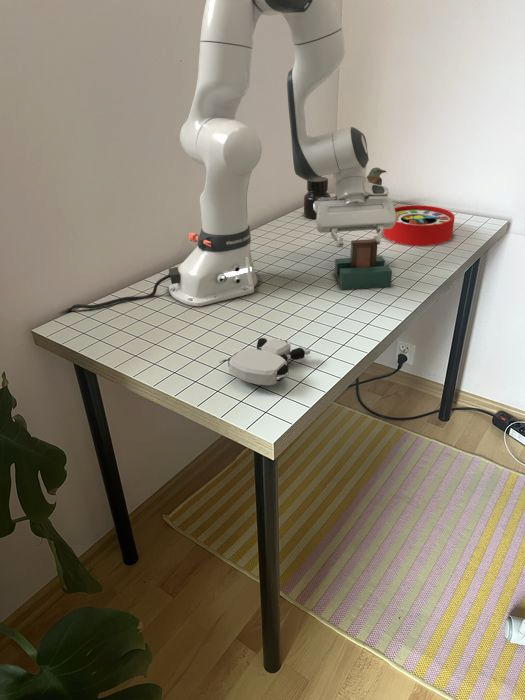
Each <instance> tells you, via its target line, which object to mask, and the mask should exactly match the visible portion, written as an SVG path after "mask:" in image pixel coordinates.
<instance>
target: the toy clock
mask: <svg viewBox="0 0 525 700" xmlns="http://www.w3.org/2000/svg"><path fill="white" fill-rule="evenodd" d="M394 208H395V213H396V223H395V225H394V226H393V227H392V228H391V229H383V231H382V235H383V237H384V238H385V239H387V240H388V241H390V242H393V243H395V244H399V245H400V244H401V245H405V246H412V247H413V246H414V247H415V246H416V247H428V246H429V247H430V246H438V245H442V244H445V243H447V242H449V241H450V240H451V239H452V238H453V232H454V227H455V226H454V225H455V214H454V213H453V212H451V211H450V210H448V209H445V208H441V207H437V206H431V205H418V204H415V205H412V204H411V205H401V206H396V207H394Z"/></svg>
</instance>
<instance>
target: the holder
mask: <svg viewBox="0 0 525 700" xmlns="http://www.w3.org/2000/svg"><path fill="white" fill-rule="evenodd" d="M392 274H393V270H392V268H391V267H390V265H386V260H385V258H384V257H383V256H382V255H377V258H376V267H360V268H350V257H344V258H342V257H340V258H335V259H334V275H335V278H336V281H337V282H338V285H339V287H340V289H341V290H343V291H344V290H357V289H374V288H375V289H377V288H391V286H392V285H391V284H392Z"/></svg>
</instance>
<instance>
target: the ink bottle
mask: <svg viewBox="0 0 525 700" xmlns="http://www.w3.org/2000/svg"><path fill="white" fill-rule="evenodd" d="M306 189H307V192H306V193H305V194H304V196H303V216H304V217H305V218H307V219H313V220H314V219H315V220H316V217H317V213H315V211H314V206H313V204H314V202H315V201H316V200H317V199H319V198H321V197H324V198H327V197H332V196H331V194H330V192H329V191H328V189H329V178H327V177H325V176H321V177H319V178H316V179H313V180H311V181H307V180H306Z"/></svg>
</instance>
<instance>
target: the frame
mask: <svg viewBox="0 0 525 700" xmlns="http://www.w3.org/2000/svg"><path fill="white" fill-rule="evenodd" d="M377 243H378V242H377V240H376V239H373V238H369V239H368V238H367V239H353V240H351V241H350V257H349V258H350V268H360V267H376V258H377V256H378V245H377Z"/></svg>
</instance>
